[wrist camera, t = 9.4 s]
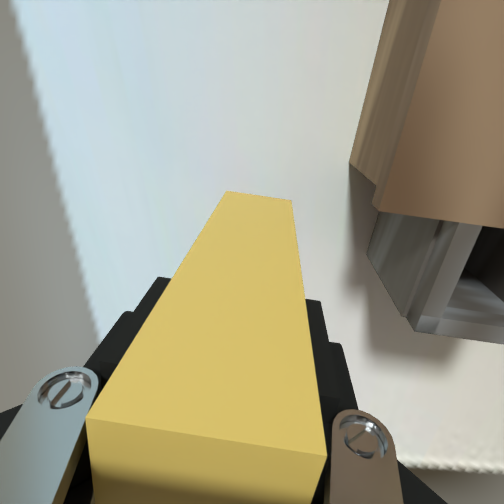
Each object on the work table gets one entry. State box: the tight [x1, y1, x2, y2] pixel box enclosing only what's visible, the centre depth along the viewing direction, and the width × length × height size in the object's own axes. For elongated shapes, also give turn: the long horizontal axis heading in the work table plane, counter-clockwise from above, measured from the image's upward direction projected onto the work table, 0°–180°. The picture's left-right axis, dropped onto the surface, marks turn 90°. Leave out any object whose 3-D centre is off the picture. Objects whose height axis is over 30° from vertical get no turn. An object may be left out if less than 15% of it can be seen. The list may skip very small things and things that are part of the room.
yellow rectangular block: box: [85, 191, 327, 504], centre depth 13 cm, size 4×4×16 cm
